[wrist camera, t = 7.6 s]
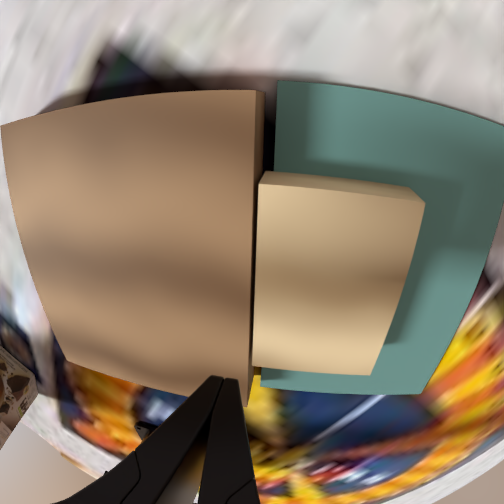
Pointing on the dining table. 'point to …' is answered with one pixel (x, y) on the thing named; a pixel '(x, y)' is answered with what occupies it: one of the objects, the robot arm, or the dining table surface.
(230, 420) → the robot arm
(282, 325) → the birch tile
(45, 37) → the dining table surface
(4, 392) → the coffee box
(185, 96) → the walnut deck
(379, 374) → the teal mat
